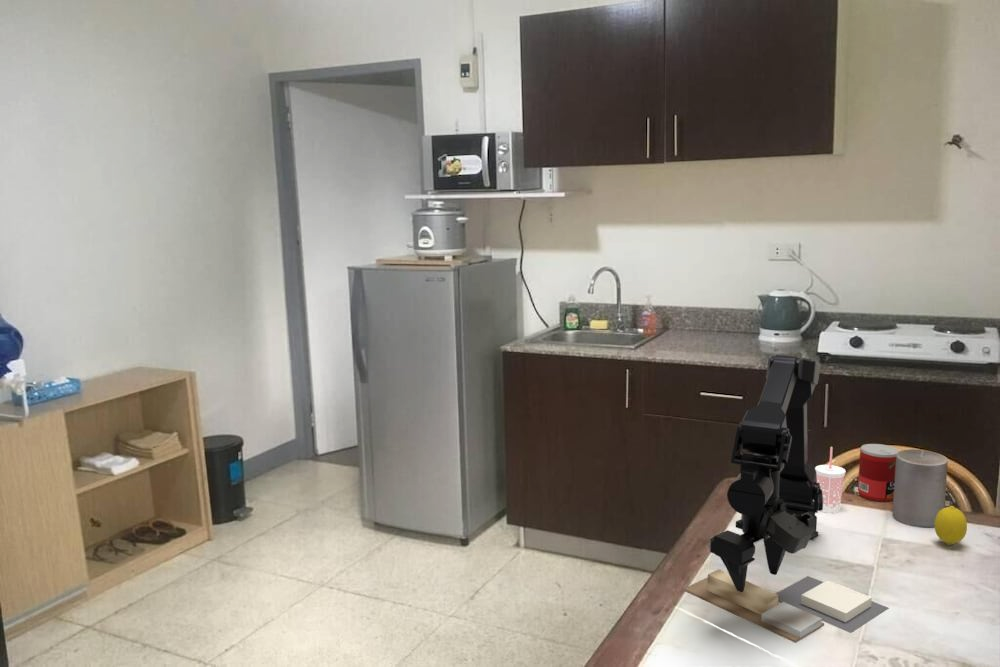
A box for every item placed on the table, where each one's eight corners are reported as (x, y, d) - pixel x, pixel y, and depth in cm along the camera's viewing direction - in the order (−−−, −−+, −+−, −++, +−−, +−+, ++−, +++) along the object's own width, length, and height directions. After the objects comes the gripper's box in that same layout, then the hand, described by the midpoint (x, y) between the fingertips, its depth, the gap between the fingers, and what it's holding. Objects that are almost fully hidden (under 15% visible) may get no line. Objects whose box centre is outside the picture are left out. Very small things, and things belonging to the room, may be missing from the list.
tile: (801, 594, 142) (846, 613, 136) (827, 580, 147) (871, 597, 140) (800, 604, 142) (845, 623, 136) (826, 589, 147) (871, 607, 141)
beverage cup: (843, 505, 185) (847, 444, 182) (842, 516, 179) (846, 453, 177) (814, 501, 187) (817, 441, 184) (812, 511, 182) (815, 449, 179)
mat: (768, 599, 145) (768, 597, 145) (807, 578, 152) (807, 575, 152) (850, 635, 133) (851, 632, 133) (889, 610, 140) (889, 607, 140)
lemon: (969, 552, 161) (972, 512, 160) (937, 550, 162) (941, 510, 161) (959, 539, 166) (963, 501, 165) (929, 538, 168) (932, 500, 166)
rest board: (683, 592, 148) (683, 588, 148) (712, 578, 153) (712, 574, 152) (795, 645, 131) (795, 640, 131) (824, 627, 136) (824, 623, 135)
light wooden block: (701, 593, 146) (702, 577, 145) (723, 582, 150) (723, 566, 149) (799, 638, 131) (800, 620, 131) (821, 625, 135) (822, 608, 134)
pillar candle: (908, 506, 184) (912, 440, 181) (953, 520, 176) (958, 451, 173) (882, 517, 178) (886, 449, 176) (927, 532, 170) (932, 461, 168)
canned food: (893, 504, 185) (897, 456, 183) (854, 498, 189) (857, 451, 187) (898, 493, 191) (901, 446, 189) (860, 487, 195) (863, 441, 193)
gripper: (769, 523, 125) (765, 620, 128) (837, 493, 136) (832, 582, 139) (708, 502, 134) (706, 593, 137) (777, 475, 145) (773, 559, 148)
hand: (757, 582), depth 140 cm, fingers open, 9 cm apart
